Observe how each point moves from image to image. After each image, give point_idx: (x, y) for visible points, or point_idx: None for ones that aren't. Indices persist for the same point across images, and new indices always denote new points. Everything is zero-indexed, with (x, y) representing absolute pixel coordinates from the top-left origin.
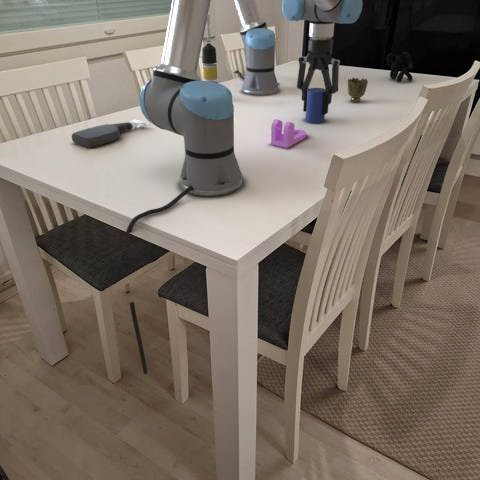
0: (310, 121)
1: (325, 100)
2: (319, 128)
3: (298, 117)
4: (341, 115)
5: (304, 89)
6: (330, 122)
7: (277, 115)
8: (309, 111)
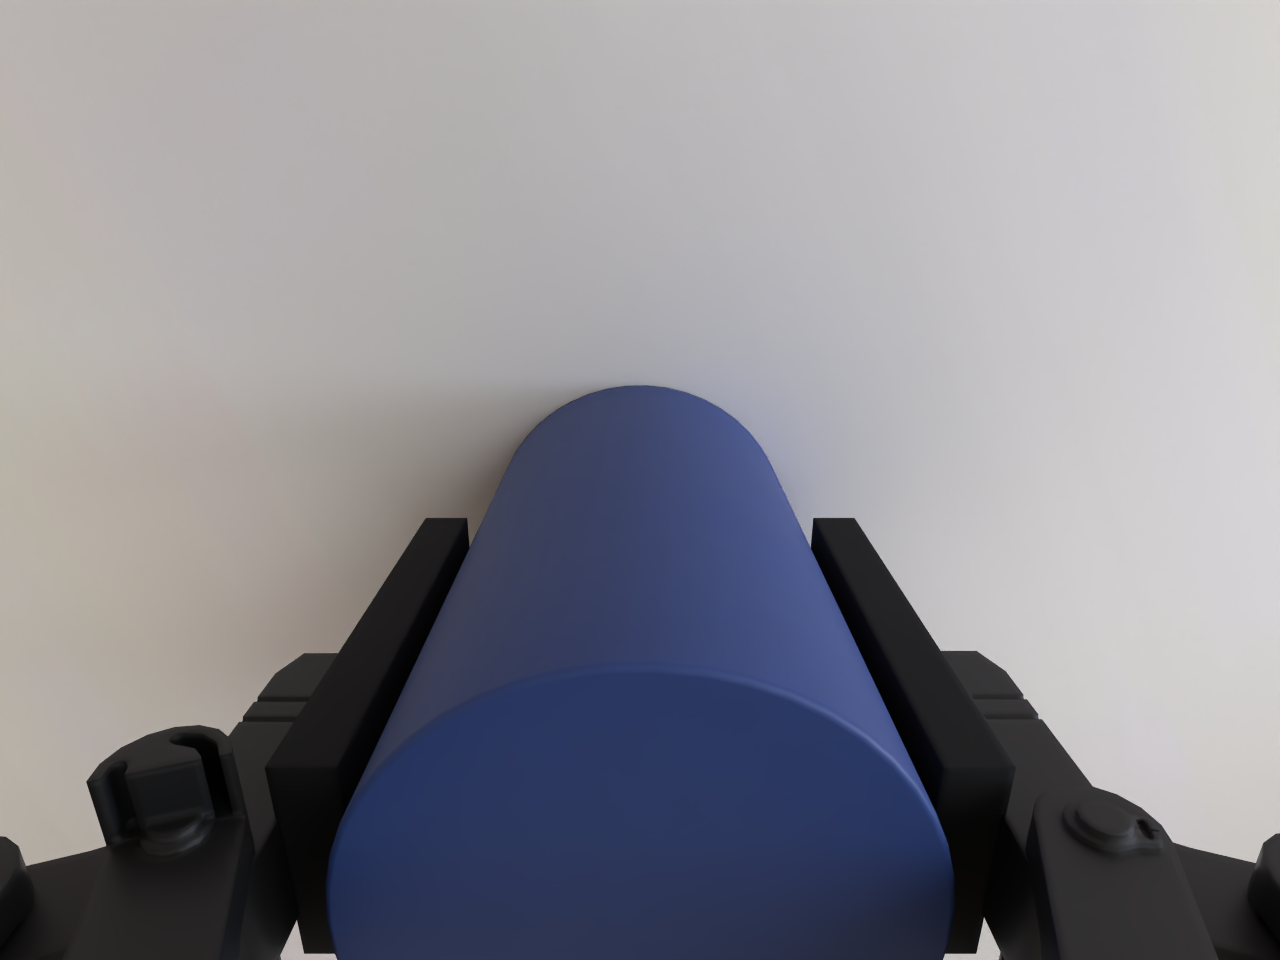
0: (647, 389)
1: (334, 664)
2: (389, 197)
3: (926, 543)
4: None
5: (1057, 834)
6: None
7: (1277, 478)
8: (690, 445)
